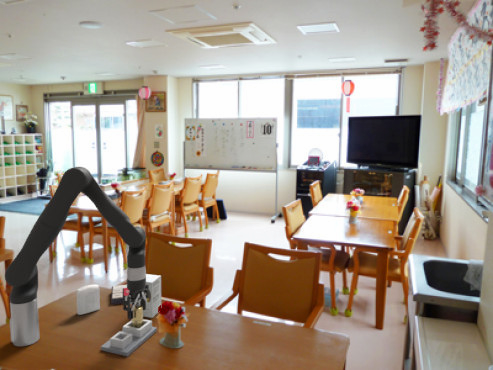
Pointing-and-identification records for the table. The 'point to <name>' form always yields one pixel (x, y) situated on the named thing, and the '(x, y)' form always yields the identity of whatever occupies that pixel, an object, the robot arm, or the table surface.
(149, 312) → the supplement box
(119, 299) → the printed cardboard box
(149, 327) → the grey holder tray
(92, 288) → the photo printer
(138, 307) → the yellow bottle
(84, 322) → the table surface
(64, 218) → the robot arm
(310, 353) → the table surface
